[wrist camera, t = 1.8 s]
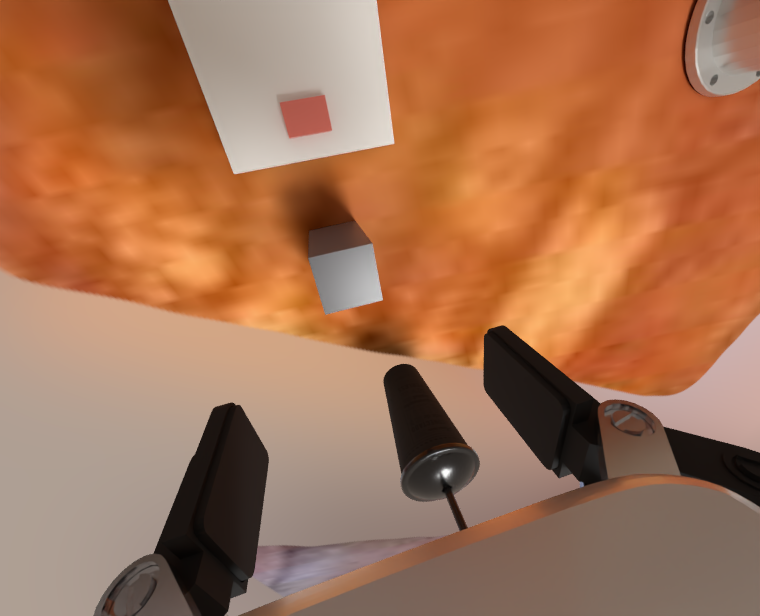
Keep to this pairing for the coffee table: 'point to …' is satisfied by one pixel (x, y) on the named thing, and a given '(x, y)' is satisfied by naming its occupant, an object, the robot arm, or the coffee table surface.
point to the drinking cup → (427, 442)
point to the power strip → (289, 77)
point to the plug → (343, 267)
